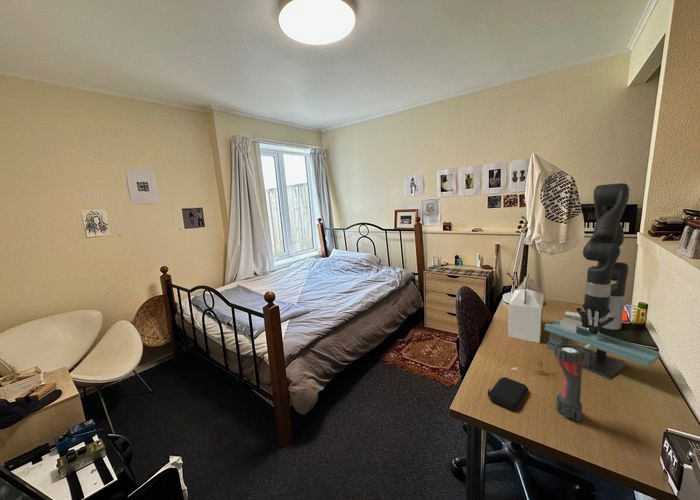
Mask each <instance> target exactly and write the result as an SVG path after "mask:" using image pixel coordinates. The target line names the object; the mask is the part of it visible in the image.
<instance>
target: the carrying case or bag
mask: <svg viewBox="0 0 700 500" xmlns="http://www.w3.org/2000/svg"><path fill="white" fill-rule="evenodd" d="M528 392H529V388H528V386H527V385H526V384H525V383H521V382H519V381H516V380H514V379H512V378H509V377H505V376H504V377H501V378H499V379H498V381H497V382H496V383H495V384H494V386H493V387H492V388H491V389H490V388H488V390H487V396H488V398H489V400H491V401H492V402H493V403H495V404H498V405H500V406H502V407H504V408H507V409H509V410H510V411H516V410H518V409H519V408H520V406H521V404H522V402H524V399H525V398H526V397H527V395H528Z"/></svg>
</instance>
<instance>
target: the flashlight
mask: <svg viewBox="0 0 700 500" xmlns="http://www.w3.org/2000/svg"><path fill="white" fill-rule="evenodd" d="M579 347H580V345H578V344H577V343H576V344H575V343H573V344H571V343H570V344H566V342H560V344H555V350H554V351H553V353H554V354H553V356H555V360H556V363H558V365H559V366H560V368H561V369H562V370H563V371H562V372H563V384H564V386H563V387H564V389H563V391H562V393H559V394H557V395H556V411H557V412H558V413H561V414H562V416H563V417H564V418H566V419H572V420H573V421H576V422H578V423H579V422H581V421H582V412H583V411H582V410H583V404H582V402H581V393H582V391H581V390H582V376H583V370H584V369H583V362H584V354H585V351H584V350H583V349H580V348H579Z"/></svg>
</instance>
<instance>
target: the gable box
mask: <svg viewBox="0 0 700 500" xmlns="http://www.w3.org/2000/svg"><path fill="white" fill-rule="evenodd" d="M544 295H545V294H544V293H543V291H542V290H541V289H540V287H539V286H538V284H537V283H536V281H534V280H533V279H530V274H527V277H526V276H525V275H524V278H523V280H522V282H521V283H520V284H519V286H517V288H516V289H515V290H514V291H513V293H512V296H511V298H510V301H509V304H508V323H507V324H508V327H507V331H508V332H507V337H508V338H512V339H517V340H521V341H526V342H533V343H537V344H540V343H541V337H542V330H543V329H542V327H543V315H544V314H543V313H544Z"/></svg>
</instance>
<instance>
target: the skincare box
mask: <svg viewBox="0 0 700 500" xmlns="http://www.w3.org/2000/svg"><path fill="white" fill-rule="evenodd" d="M563 317H564V318H570V319H573V320H576V321H580V322H582V318H581V316H580V315H579V313H578V312H574V311H565V312H564V316H563ZM564 318H563V319H564Z"/></svg>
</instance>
